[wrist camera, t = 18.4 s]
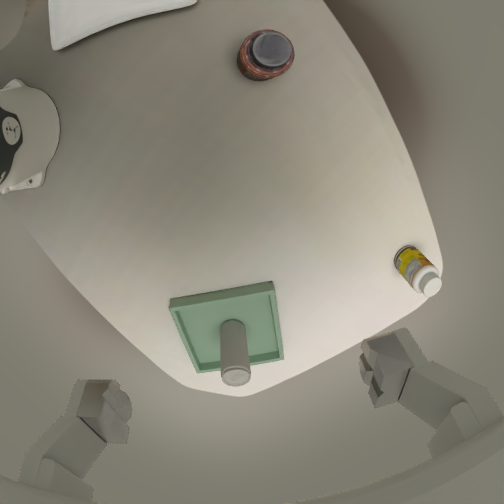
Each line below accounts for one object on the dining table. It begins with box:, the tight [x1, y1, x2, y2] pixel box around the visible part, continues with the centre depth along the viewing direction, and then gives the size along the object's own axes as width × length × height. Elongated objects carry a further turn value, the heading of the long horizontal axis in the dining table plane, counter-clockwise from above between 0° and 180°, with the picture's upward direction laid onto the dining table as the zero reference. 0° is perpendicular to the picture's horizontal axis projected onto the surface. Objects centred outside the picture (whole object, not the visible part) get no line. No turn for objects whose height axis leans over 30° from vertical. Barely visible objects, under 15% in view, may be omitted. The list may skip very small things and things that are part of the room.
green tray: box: [169, 281, 284, 373], centre depth 56 cm, size 18×18×3 cm
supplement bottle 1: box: [237, 30, 295, 81], centre depth 31 cm, size 6×6×11 cm
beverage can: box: [220, 320, 251, 386], centre depth 51 cm, size 5×5×12 cm
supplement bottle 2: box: [395, 246, 442, 297], centre depth 49 cm, size 6×6×10 cm
